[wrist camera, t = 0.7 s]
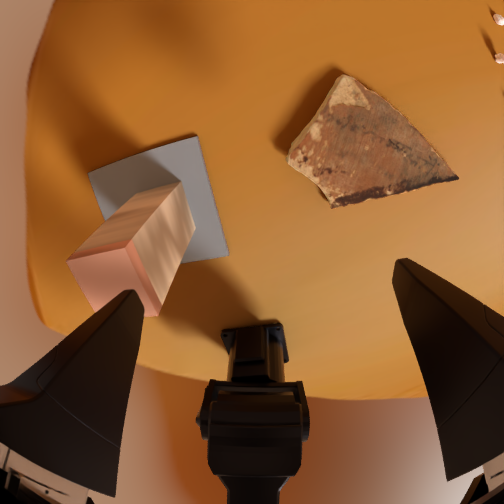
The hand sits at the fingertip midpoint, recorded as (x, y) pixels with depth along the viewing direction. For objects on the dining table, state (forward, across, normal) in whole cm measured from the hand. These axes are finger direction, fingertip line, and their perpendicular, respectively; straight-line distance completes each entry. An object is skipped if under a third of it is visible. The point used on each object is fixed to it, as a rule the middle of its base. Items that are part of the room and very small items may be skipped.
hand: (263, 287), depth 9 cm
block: (+12, +8, +2) cm, 15 cm away
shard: (+14, -9, -2) cm, 17 cm away
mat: (+13, +9, +2) cm, 16 cm away
